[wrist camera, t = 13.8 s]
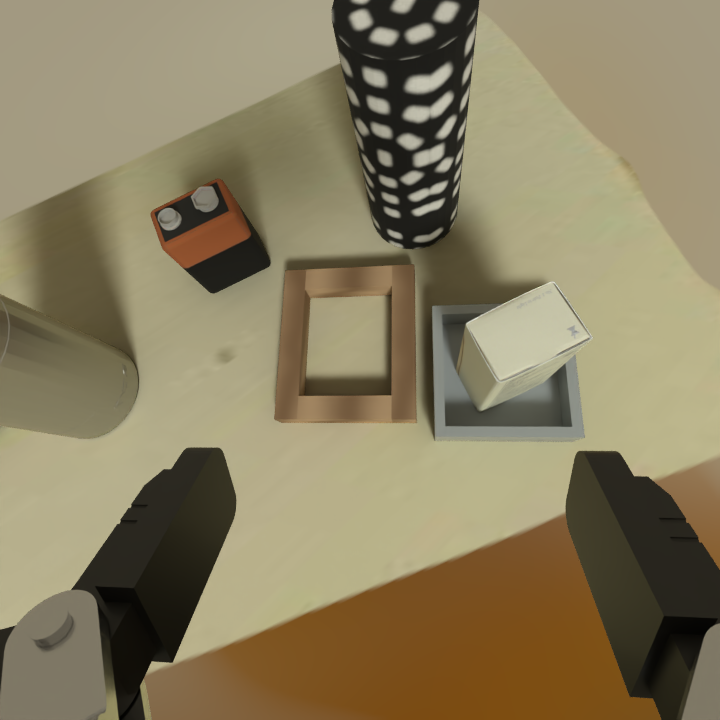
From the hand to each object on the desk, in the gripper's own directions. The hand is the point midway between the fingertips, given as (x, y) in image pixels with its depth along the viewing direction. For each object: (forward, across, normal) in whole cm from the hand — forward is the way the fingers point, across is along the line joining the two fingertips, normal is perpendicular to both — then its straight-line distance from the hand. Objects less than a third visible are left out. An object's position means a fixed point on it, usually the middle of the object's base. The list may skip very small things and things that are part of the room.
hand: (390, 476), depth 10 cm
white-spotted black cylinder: (+39, -1, +2) cm, 39 cm away
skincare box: (+26, -7, +14) cm, 30 cm away
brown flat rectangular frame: (+29, +5, +12) cm, 31 cm away
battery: (+35, +17, +6) cm, 40 cm away
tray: (+26, -8, +14) cm, 30 cm away
